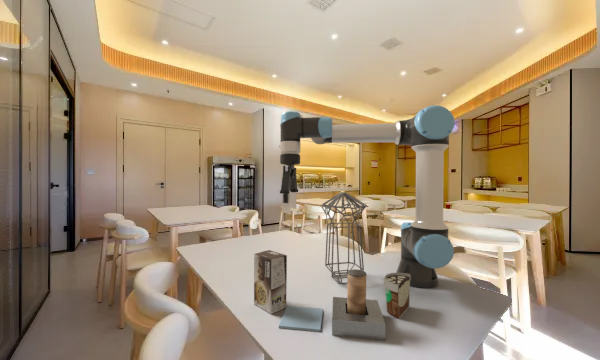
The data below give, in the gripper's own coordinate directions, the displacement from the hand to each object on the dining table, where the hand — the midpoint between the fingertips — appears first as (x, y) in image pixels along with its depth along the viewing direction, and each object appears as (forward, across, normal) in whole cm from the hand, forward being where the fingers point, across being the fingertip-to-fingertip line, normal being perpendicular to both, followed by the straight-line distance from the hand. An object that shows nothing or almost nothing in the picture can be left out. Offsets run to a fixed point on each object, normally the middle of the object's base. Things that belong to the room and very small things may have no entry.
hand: (289, 210), depth 96 cm
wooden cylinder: (+28, +23, +23) cm, 43 cm away
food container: (+28, +13, +35) cm, 47 cm away
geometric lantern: (+28, -10, +20) cm, 36 cm away
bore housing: (+28, +23, +23) cm, 43 cm away
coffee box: (+28, +17, -3) cm, 33 cm away
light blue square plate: (+28, +23, +8) cm, 37 cm away
